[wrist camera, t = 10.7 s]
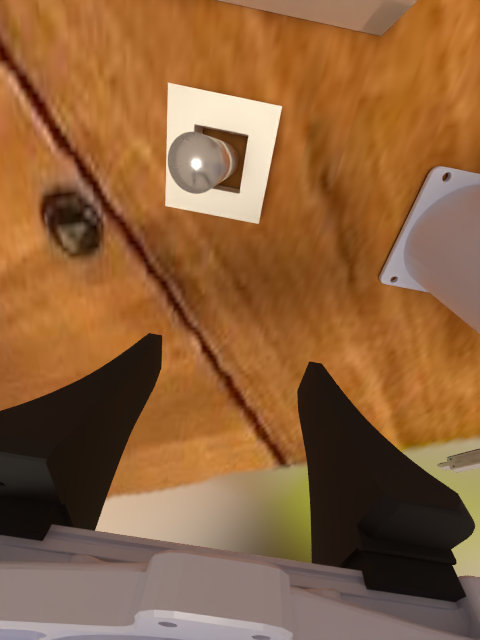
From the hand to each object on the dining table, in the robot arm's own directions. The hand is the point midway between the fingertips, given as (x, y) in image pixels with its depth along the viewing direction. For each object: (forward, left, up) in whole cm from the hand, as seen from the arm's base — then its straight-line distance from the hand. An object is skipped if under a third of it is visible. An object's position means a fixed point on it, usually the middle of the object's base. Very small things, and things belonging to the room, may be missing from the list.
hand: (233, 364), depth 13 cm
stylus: (+3, -8, -10) cm, 13 cm away
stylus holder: (+3, -8, -10) cm, 13 cm away
